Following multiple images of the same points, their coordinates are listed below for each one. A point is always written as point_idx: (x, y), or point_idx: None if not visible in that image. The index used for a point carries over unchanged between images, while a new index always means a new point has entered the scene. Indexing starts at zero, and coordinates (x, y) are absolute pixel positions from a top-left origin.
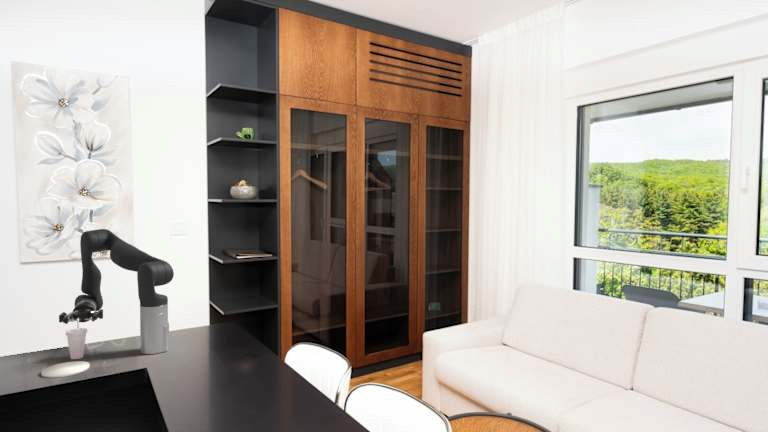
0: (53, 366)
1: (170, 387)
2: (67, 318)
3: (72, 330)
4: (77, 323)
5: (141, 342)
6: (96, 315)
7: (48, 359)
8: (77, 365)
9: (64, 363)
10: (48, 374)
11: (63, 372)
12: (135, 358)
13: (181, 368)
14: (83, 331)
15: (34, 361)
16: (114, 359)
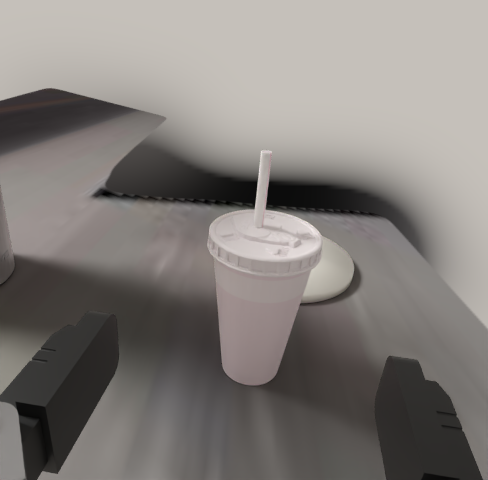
0: (327, 281)
1: (117, 145)
2: (393, 377)
3: (288, 233)
4: (266, 183)
5: (5, 226)
6: (31, 363)
7: None
8: None
9: None
10: (325, 240)
11: None
12: (66, 248)
13: (40, 170)
14: (231, 213)
15: None
16: (125, 270)
